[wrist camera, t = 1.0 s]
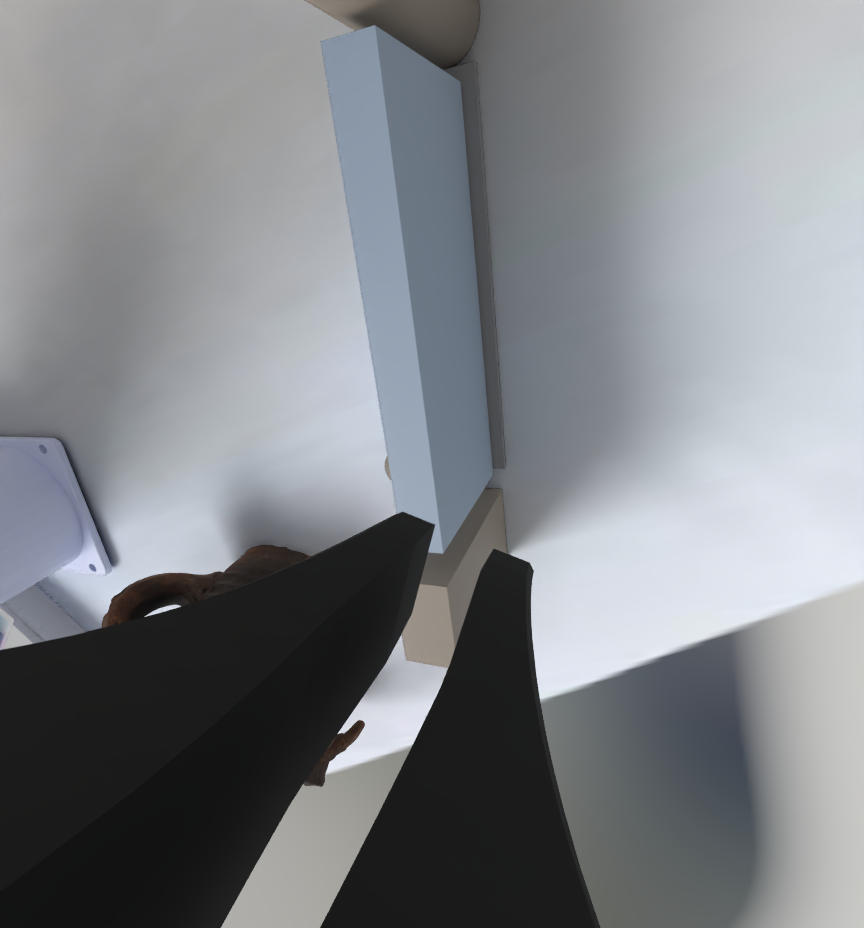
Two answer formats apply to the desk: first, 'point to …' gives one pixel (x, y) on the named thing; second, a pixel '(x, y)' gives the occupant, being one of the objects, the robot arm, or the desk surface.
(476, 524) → the u-shaped bracket
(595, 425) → the desk surface
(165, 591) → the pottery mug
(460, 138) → the rectangular plank
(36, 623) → the intercom
